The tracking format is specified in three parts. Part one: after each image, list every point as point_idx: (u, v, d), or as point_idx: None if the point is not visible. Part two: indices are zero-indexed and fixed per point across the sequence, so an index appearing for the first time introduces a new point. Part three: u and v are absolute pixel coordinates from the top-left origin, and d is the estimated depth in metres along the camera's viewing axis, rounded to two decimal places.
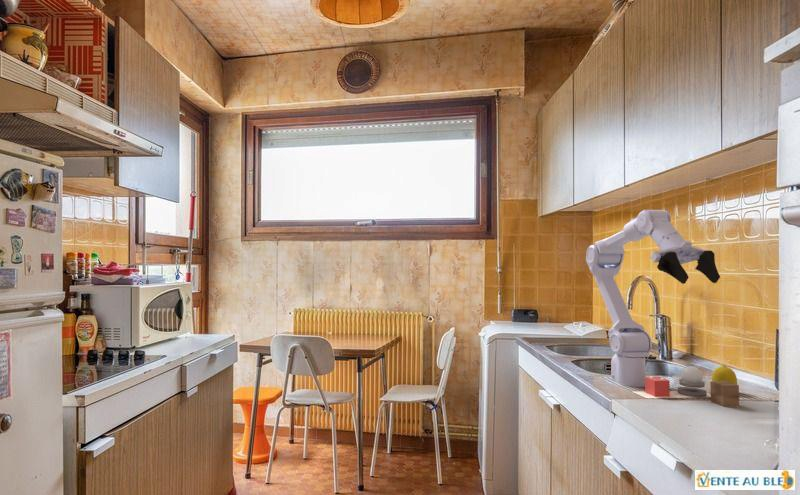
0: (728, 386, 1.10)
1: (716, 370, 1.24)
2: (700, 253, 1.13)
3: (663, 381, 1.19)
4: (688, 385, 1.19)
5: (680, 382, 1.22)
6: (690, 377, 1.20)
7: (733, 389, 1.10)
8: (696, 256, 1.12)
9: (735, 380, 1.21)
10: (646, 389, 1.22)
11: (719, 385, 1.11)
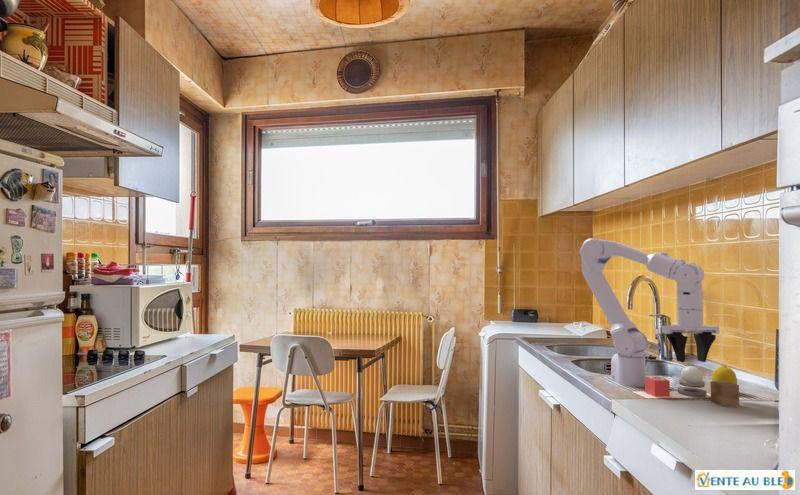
0: (728, 386, 1.10)
1: (716, 370, 1.24)
2: None
3: (663, 381, 1.19)
4: (688, 385, 1.19)
5: (680, 382, 1.22)
6: (690, 377, 1.20)
7: (733, 389, 1.10)
8: (703, 331, 1.22)
9: (735, 380, 1.21)
10: (646, 389, 1.22)
11: (719, 385, 1.11)
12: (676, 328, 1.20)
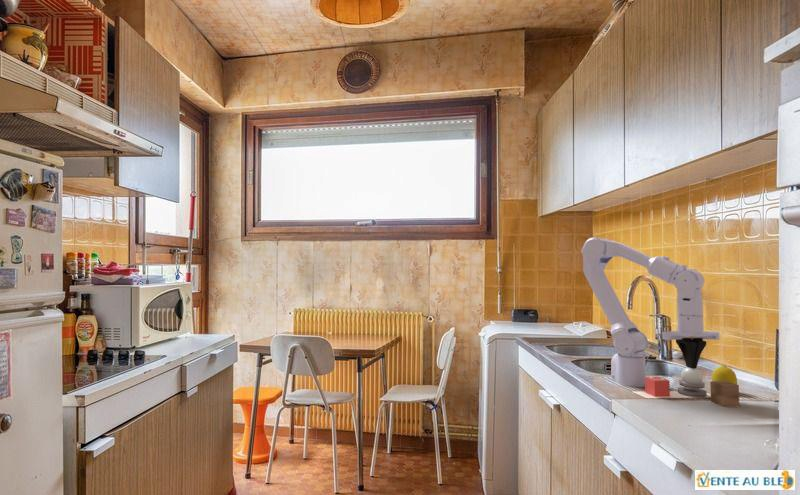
0: (728, 386, 1.10)
1: (716, 370, 1.24)
2: None
3: (663, 381, 1.19)
4: (688, 386, 1.19)
5: (680, 383, 1.22)
6: (690, 378, 1.20)
7: (733, 389, 1.10)
8: (703, 337, 1.22)
9: (735, 380, 1.21)
10: (646, 389, 1.22)
11: (719, 385, 1.11)
12: (676, 334, 1.20)
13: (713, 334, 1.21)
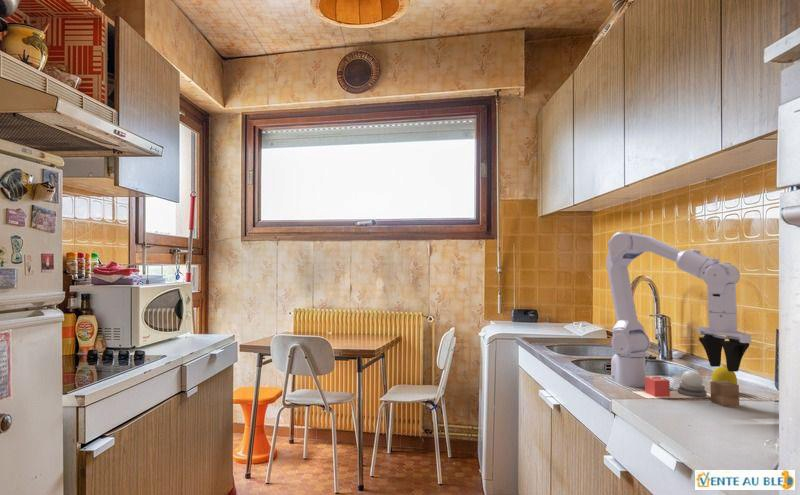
0: (728, 386, 1.10)
1: (716, 370, 1.24)
2: (734, 336, 1.08)
3: (663, 381, 1.19)
4: (688, 389, 1.19)
5: (680, 386, 1.22)
6: (690, 381, 1.19)
7: (733, 389, 1.10)
8: (732, 338, 1.10)
9: (735, 380, 1.21)
10: (646, 389, 1.22)
11: (719, 385, 1.11)
12: (702, 329, 1.18)
13: (735, 335, 1.07)
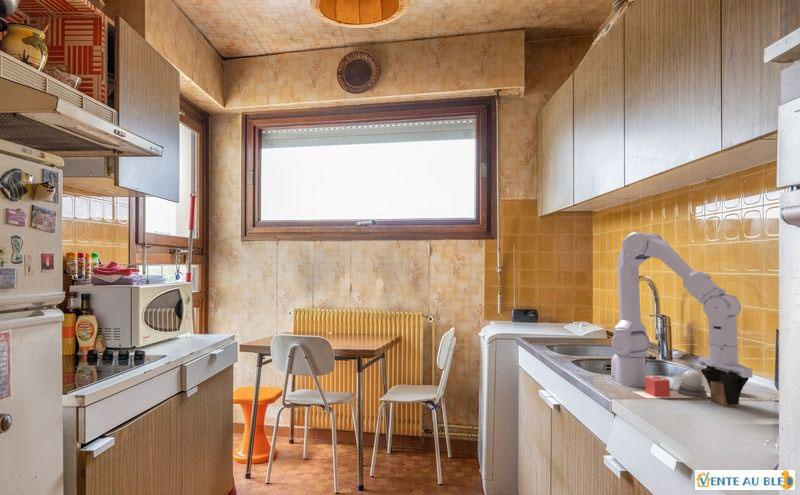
0: None
1: None
2: None
3: (663, 381, 1.19)
4: (688, 389, 1.19)
5: (680, 386, 1.22)
6: (690, 381, 1.19)
7: None
8: (733, 371, 1.09)
9: None
10: (646, 389, 1.22)
11: (719, 385, 1.11)
12: (703, 360, 1.17)
13: (736, 369, 1.07)
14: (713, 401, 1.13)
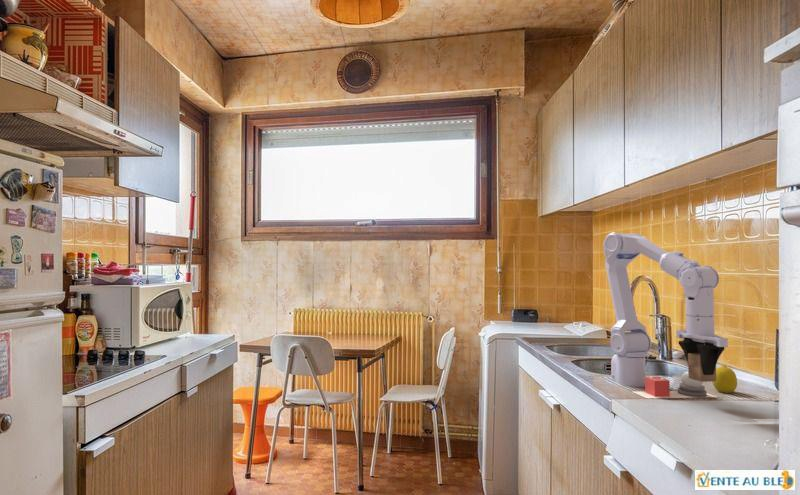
0: None
1: (716, 370, 1.24)
2: None
3: (663, 381, 1.19)
4: (688, 389, 1.19)
5: (680, 386, 1.22)
6: (690, 381, 1.19)
7: None
8: (709, 342, 1.09)
9: (735, 380, 1.21)
10: (646, 389, 1.22)
11: (696, 356, 1.11)
12: (680, 333, 1.17)
13: (712, 339, 1.07)
14: (690, 373, 1.13)
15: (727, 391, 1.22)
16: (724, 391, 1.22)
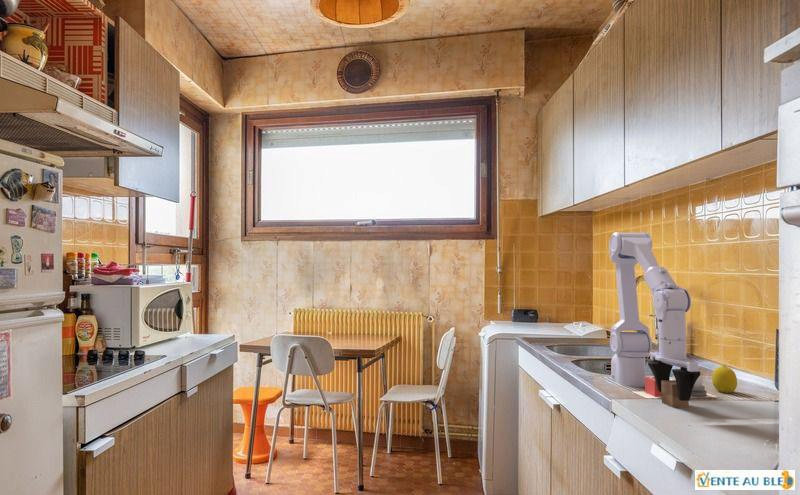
0: None
1: (716, 370, 1.24)
2: None
3: None
4: None
5: None
6: None
7: None
8: (680, 365, 1.08)
9: (735, 380, 1.21)
10: (646, 389, 1.22)
11: (669, 384, 1.10)
12: (654, 355, 1.16)
13: (682, 363, 1.06)
14: (663, 400, 1.12)
15: (727, 391, 1.22)
16: (724, 391, 1.22)
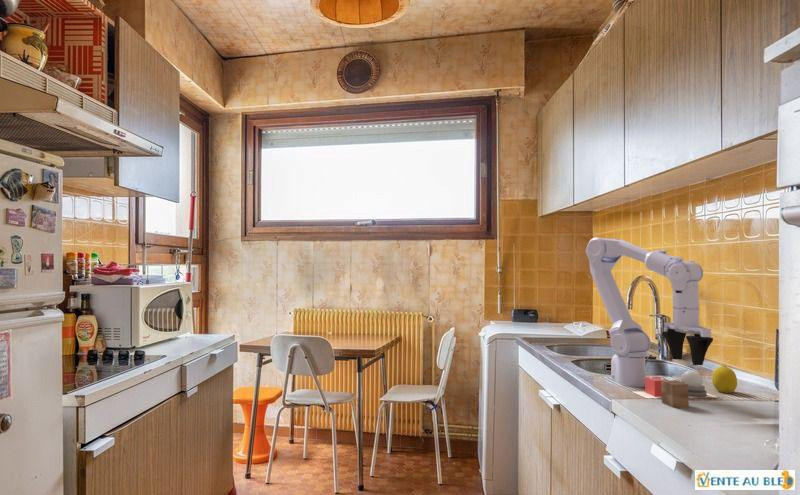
0: (677, 385, 1.09)
1: (716, 370, 1.24)
2: (696, 331, 1.14)
3: None
4: (688, 389, 1.19)
5: None
6: (690, 381, 1.19)
7: (682, 388, 1.09)
8: (694, 332, 1.15)
9: (735, 380, 1.21)
10: (646, 389, 1.22)
11: (669, 384, 1.10)
12: (668, 325, 1.23)
13: (696, 330, 1.13)
14: (663, 400, 1.12)
15: (727, 391, 1.22)
16: (724, 391, 1.22)
